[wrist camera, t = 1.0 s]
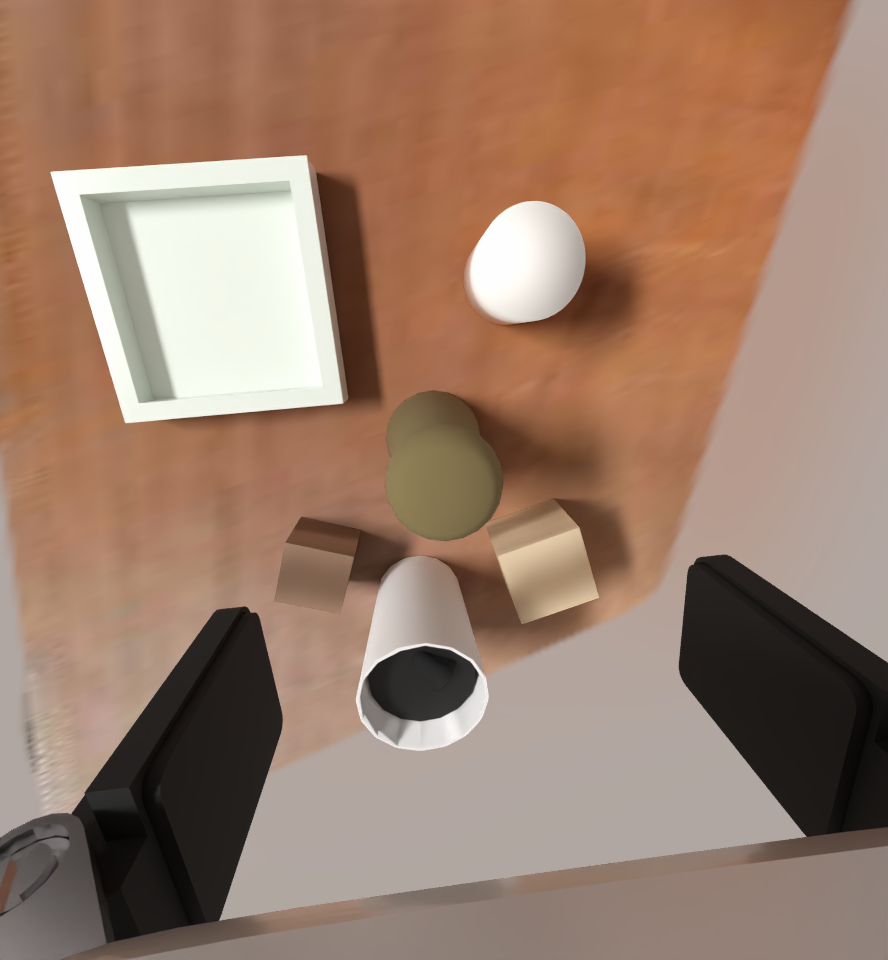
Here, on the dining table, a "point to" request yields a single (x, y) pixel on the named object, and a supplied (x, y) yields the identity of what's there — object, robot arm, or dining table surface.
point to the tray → (208, 285)
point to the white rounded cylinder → (525, 265)
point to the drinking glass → (421, 660)
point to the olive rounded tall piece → (440, 468)
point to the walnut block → (317, 565)
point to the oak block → (542, 560)
